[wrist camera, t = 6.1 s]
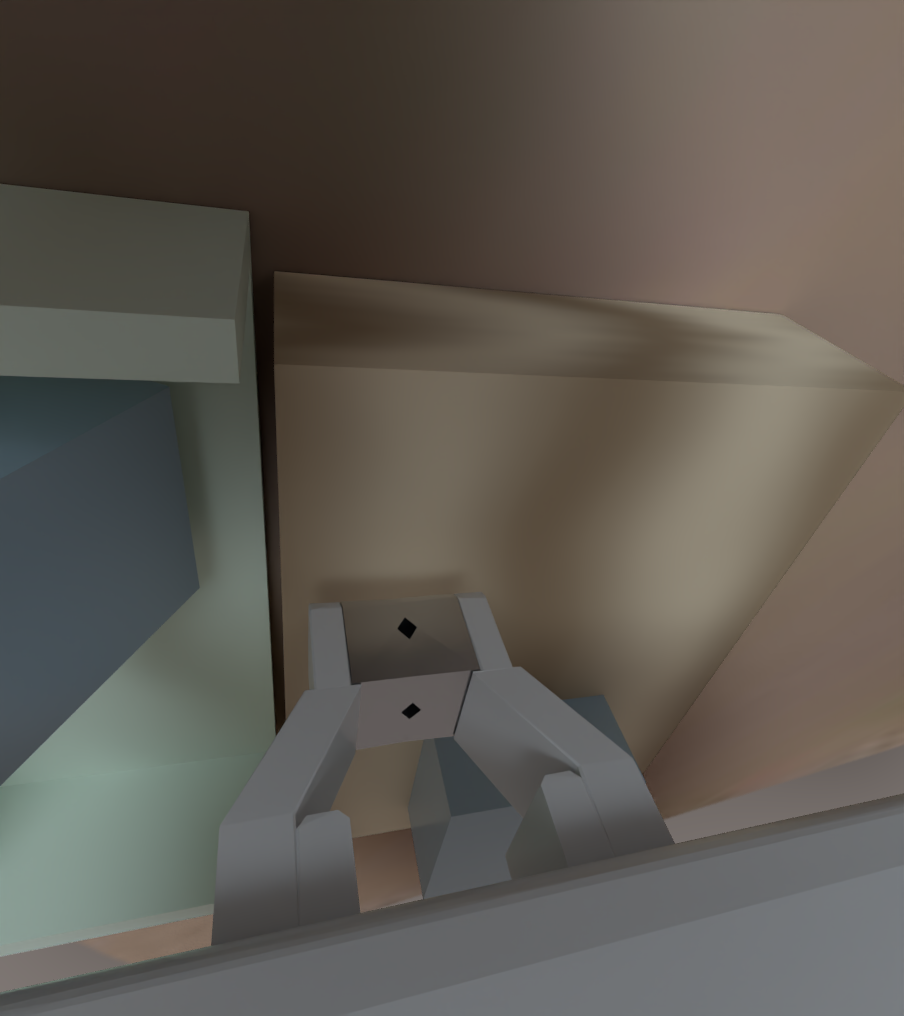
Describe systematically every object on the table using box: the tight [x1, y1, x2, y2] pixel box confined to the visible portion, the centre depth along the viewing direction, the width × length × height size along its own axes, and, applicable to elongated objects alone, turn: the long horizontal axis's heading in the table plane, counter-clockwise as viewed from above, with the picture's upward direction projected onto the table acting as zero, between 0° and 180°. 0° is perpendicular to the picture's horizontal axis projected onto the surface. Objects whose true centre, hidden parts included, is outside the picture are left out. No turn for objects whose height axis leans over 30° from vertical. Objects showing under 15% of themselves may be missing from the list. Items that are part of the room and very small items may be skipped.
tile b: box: [408, 695, 646, 899], centre depth 16 cm, size 5×5×2 cm
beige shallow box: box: [274, 271, 904, 838], centre depth 16 cm, size 12×16×4 cm
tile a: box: [0, 376, 200, 786], centre depth 10 cm, size 5×5×2 cm
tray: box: [0, 184, 276, 957], centre depth 13 cm, size 10×18×5 cm, turn 171°
